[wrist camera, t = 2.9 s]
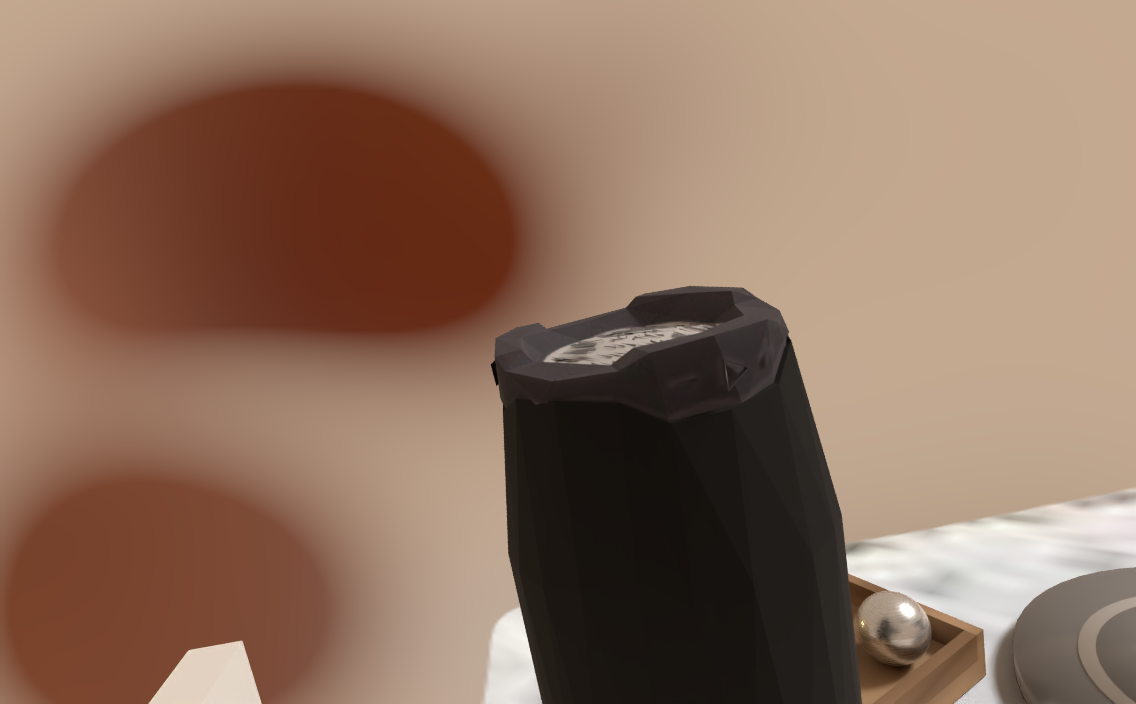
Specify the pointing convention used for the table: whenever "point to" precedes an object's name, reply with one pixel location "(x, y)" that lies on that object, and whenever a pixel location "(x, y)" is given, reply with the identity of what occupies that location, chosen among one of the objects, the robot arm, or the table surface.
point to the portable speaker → (673, 508)
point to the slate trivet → (1079, 641)
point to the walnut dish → (922, 660)
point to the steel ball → (893, 628)
